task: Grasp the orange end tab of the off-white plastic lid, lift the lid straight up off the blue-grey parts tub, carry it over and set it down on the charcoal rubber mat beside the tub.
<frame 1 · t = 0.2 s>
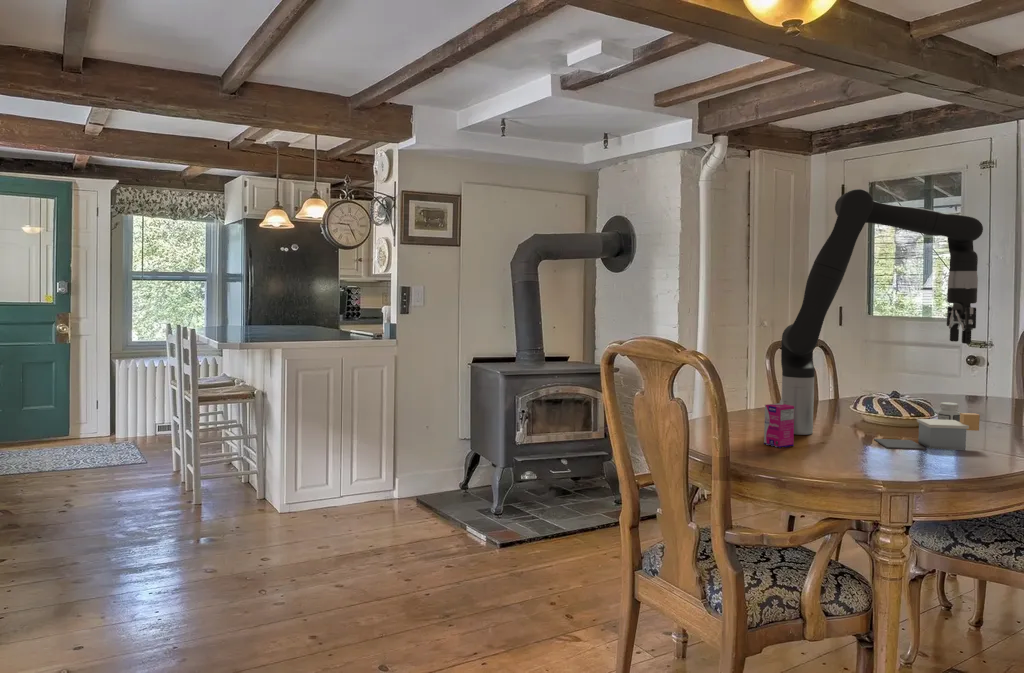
hand: (960, 342, 225), 28 cm above the table, fingers open, 8 cm apart
lid: (942, 425, 214), point 6 cm above the table, touching tub
tub: (941, 446, 215), on the table
mat: (899, 444, 217), on the table
supplement box: (778, 446, 214), on the table
pill bottle: (948, 436, 230), on the table
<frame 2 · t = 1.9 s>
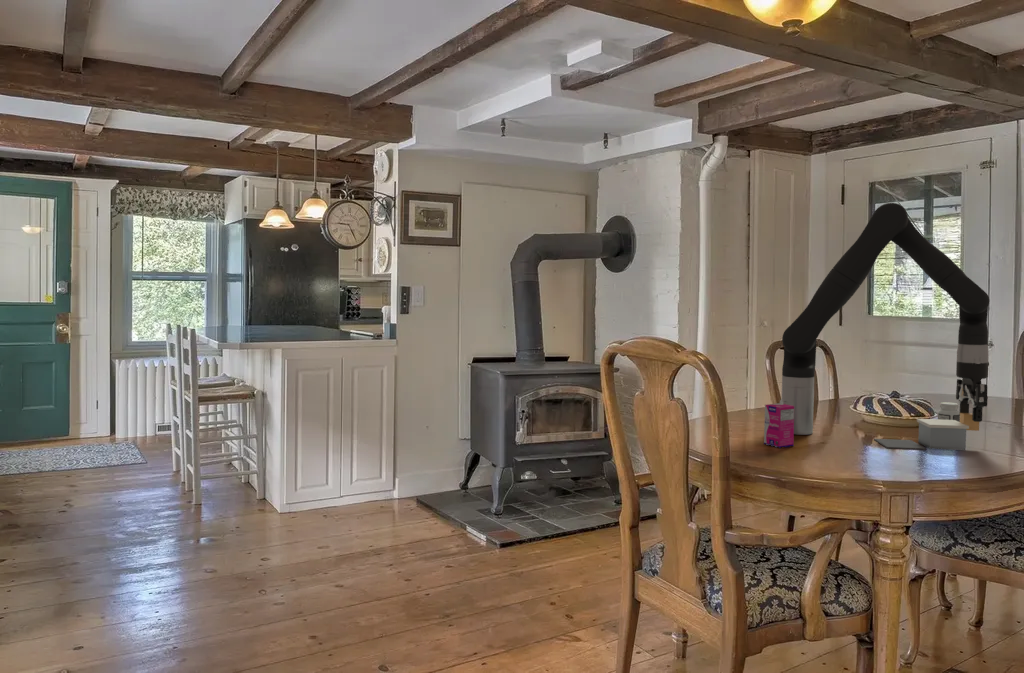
hand: (970, 418, 213), 8 cm above the table, fingers open, 8 cm apart
nothing on the table moved.
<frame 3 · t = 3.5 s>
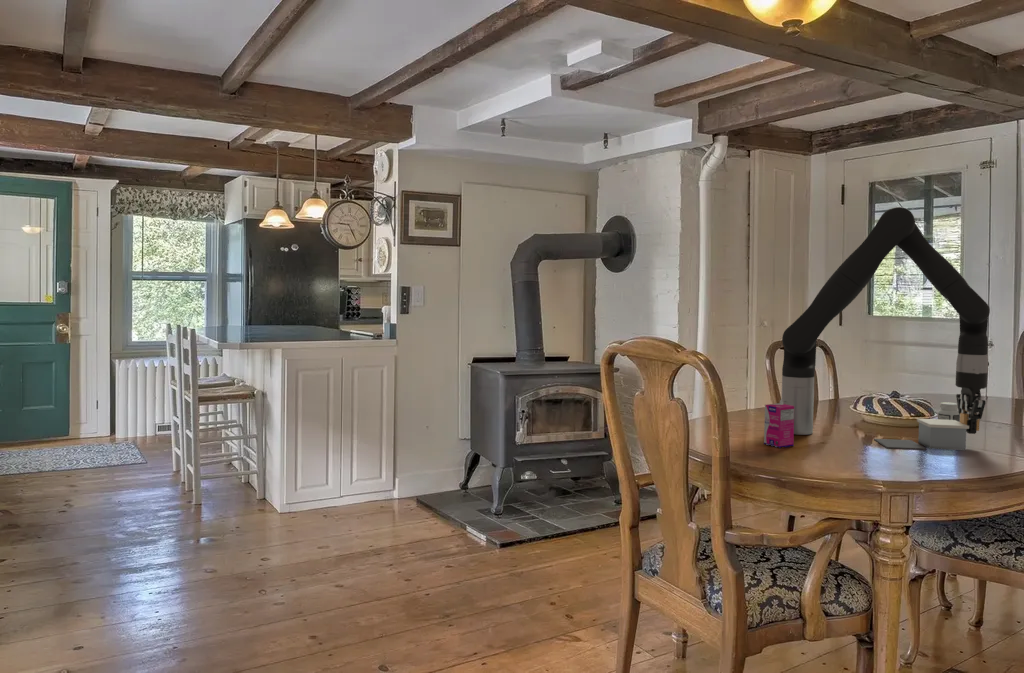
hand: (969, 432, 213), 4 cm above the table, fingers closed on lid, 2 cm apart
lid: (942, 424, 214), point 6 cm above the table, touching gripper, tub
everything else where it was.
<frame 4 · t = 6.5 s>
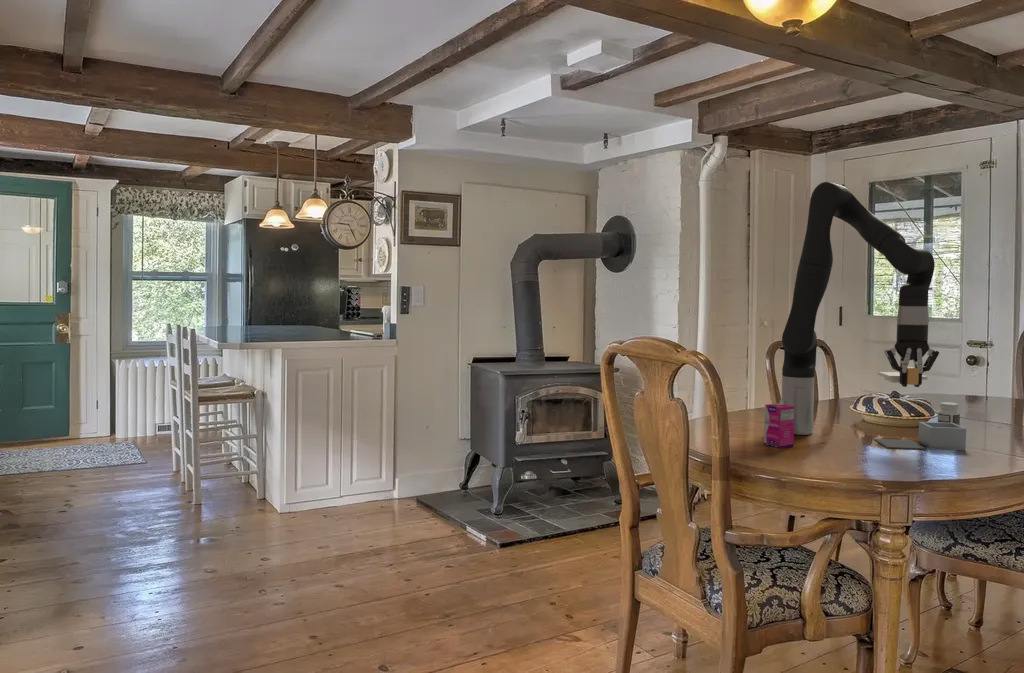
hand: (910, 386, 209), 17 cm above the table, fingers closed on lid, 2 cm apart
lid: (901, 377, 215), point 19 cm above the table, touching gripper
everything else where it was.
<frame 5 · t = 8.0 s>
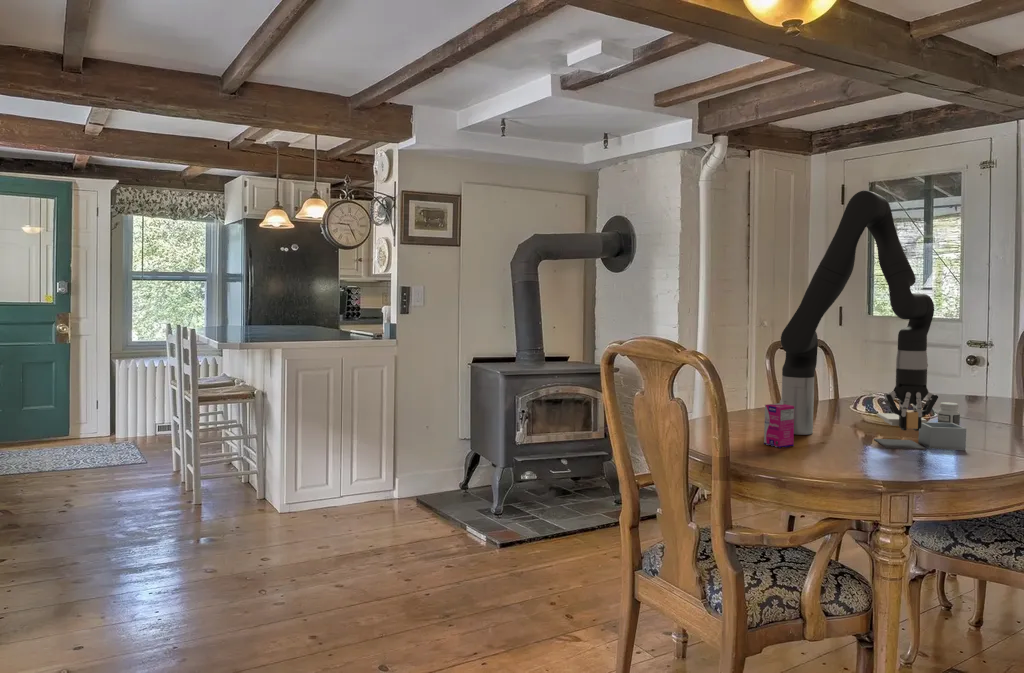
hand: (909, 429, 209), 6 cm above the table, fingers closed on lid, 2 cm apart
lid: (901, 419, 216), point 7 cm above the table, touching gripper
everything else where it was.
when the fingers open (1 cm above the table, at t = 9.4 s): lid drops 1 cm, resting on mat.
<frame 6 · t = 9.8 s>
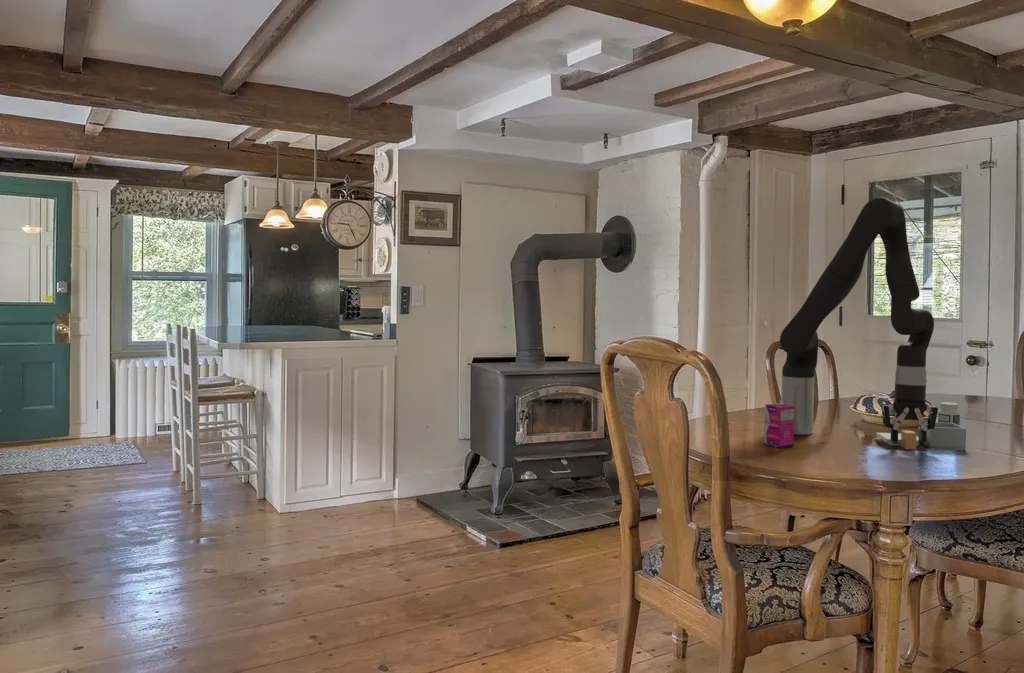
hand: (908, 443, 210), 2 cm above the table, fingers open, 6 cm apart
lid: (900, 439, 216), point 2 cm above the table, touching mat
everything else where it was.
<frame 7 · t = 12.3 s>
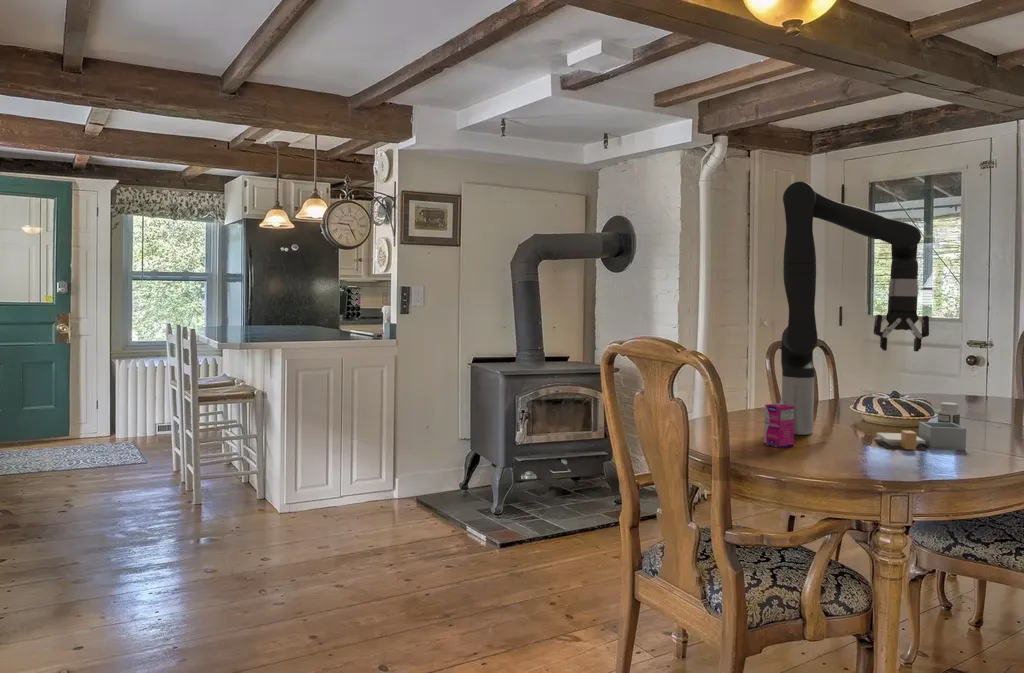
hand: (900, 350, 223), 26 cm above the table, fingers open, 8 cm apart
nothing on the table moved.
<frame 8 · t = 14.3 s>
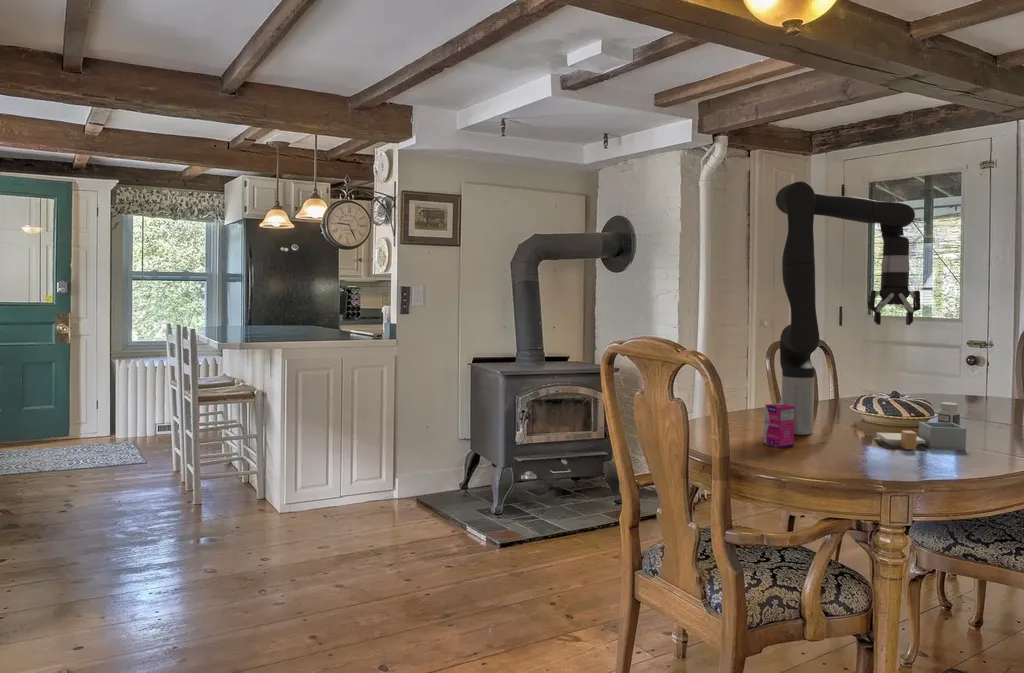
hand: (893, 324, 233), 33 cm above the table, fingers open, 8 cm apart
nothing on the table moved.
at the end: lid inside the target area (0.6 cm from its centre), point 1.6 cm above the table; lid tilted 0°; lid touching mat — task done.
